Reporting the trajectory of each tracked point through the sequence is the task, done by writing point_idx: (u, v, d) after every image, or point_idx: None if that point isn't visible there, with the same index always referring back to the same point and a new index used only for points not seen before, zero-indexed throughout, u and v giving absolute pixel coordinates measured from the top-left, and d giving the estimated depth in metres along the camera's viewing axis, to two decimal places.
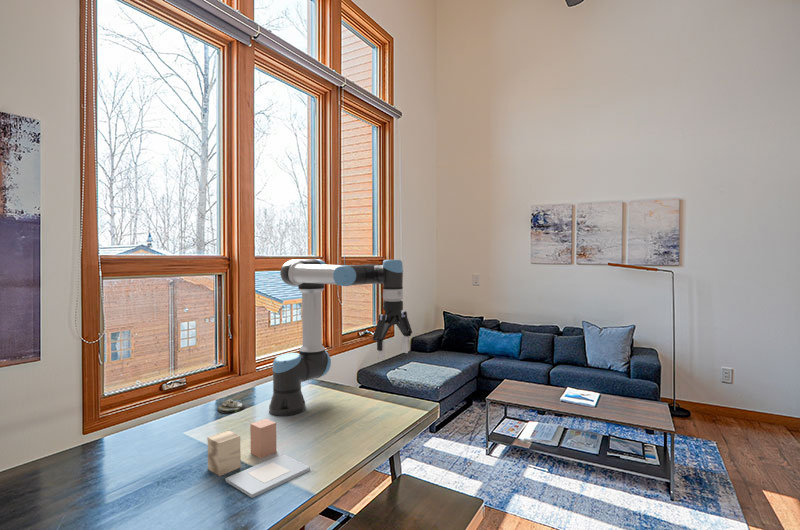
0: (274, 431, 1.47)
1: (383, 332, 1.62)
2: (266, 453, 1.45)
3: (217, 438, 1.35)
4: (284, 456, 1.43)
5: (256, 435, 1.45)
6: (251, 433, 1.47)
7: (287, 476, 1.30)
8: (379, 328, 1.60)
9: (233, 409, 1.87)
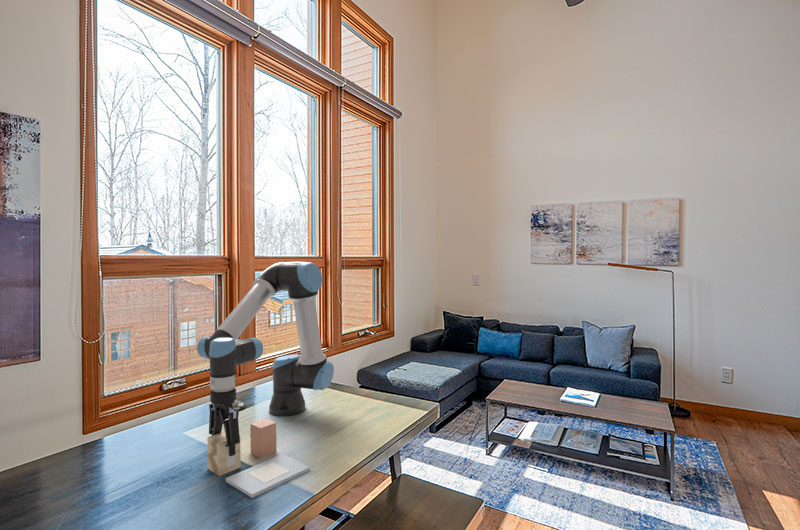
0: (274, 431, 1.47)
1: None
2: (266, 453, 1.45)
3: (217, 438, 1.35)
4: (284, 456, 1.43)
5: (256, 435, 1.45)
6: (251, 433, 1.47)
7: (287, 476, 1.30)
8: None
9: (234, 409, 1.87)
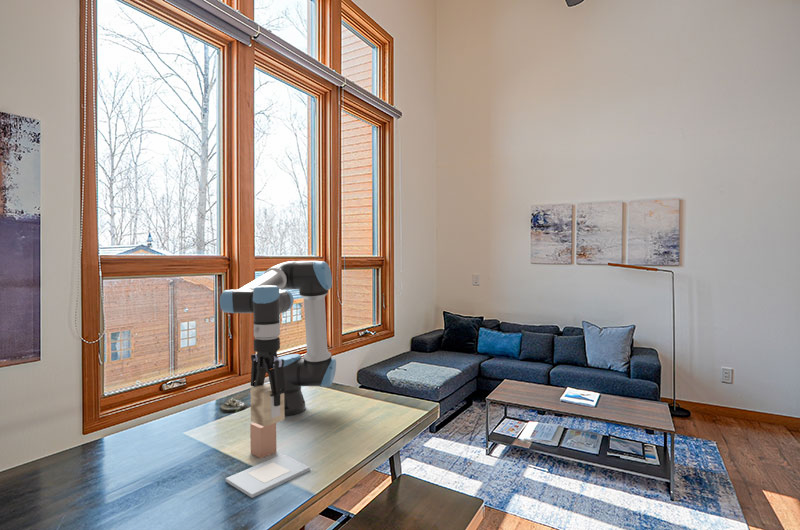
0: (274, 431, 1.47)
1: None
2: (266, 453, 1.45)
3: (261, 388, 1.30)
4: (284, 456, 1.43)
5: (256, 435, 1.45)
6: (251, 433, 1.47)
7: (287, 476, 1.30)
8: None
9: (234, 408, 1.88)
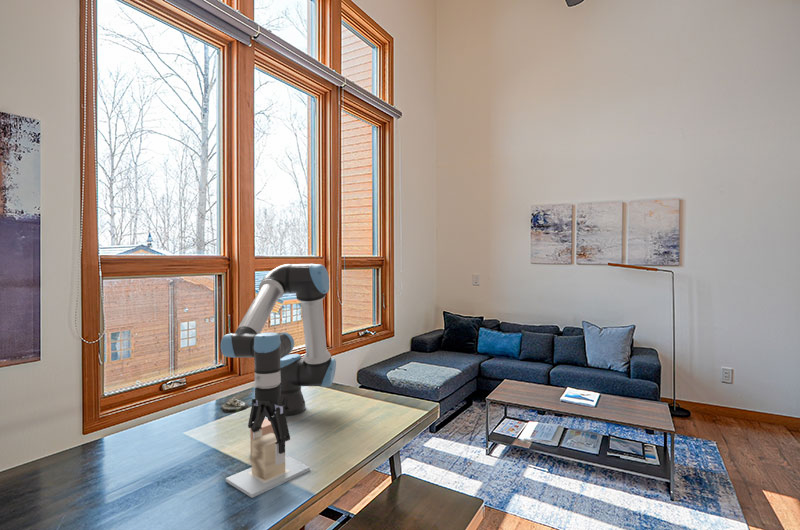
0: None
1: None
2: None
3: (262, 441, 1.30)
4: None
5: None
6: (251, 433, 1.47)
7: (287, 476, 1.30)
8: None
9: (235, 408, 1.88)
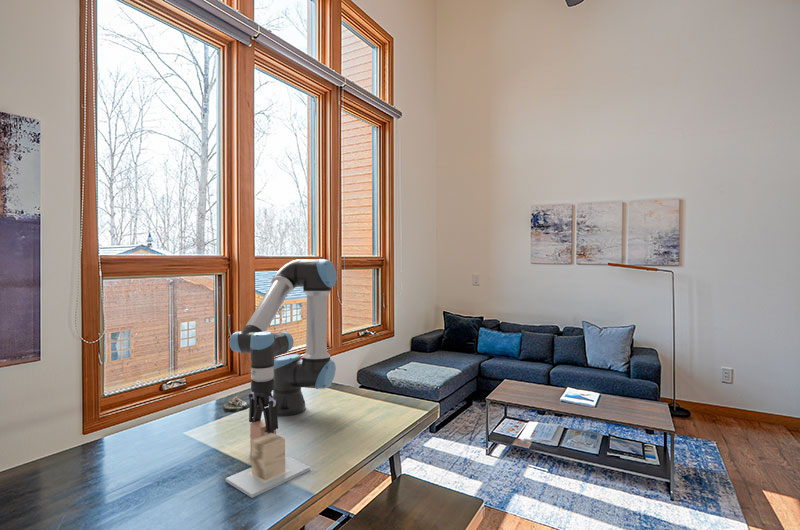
0: (274, 431, 1.47)
1: None
2: None
3: (262, 441, 1.30)
4: None
5: (256, 435, 1.45)
6: (251, 433, 1.47)
7: (287, 476, 1.30)
8: None
9: (236, 408, 1.89)
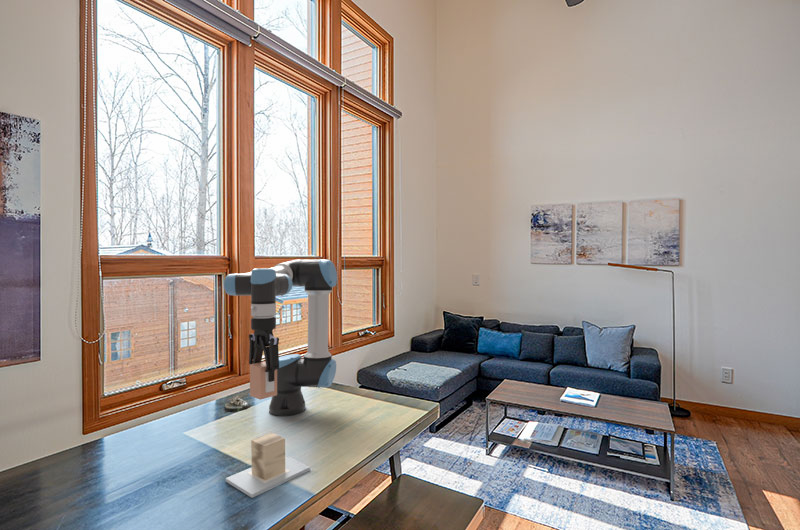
0: (274, 373, 1.39)
1: None
2: (266, 395, 1.37)
3: (262, 441, 1.30)
4: None
5: (256, 375, 1.37)
6: (250, 374, 1.39)
7: (287, 476, 1.30)
8: None
9: (236, 407, 1.89)
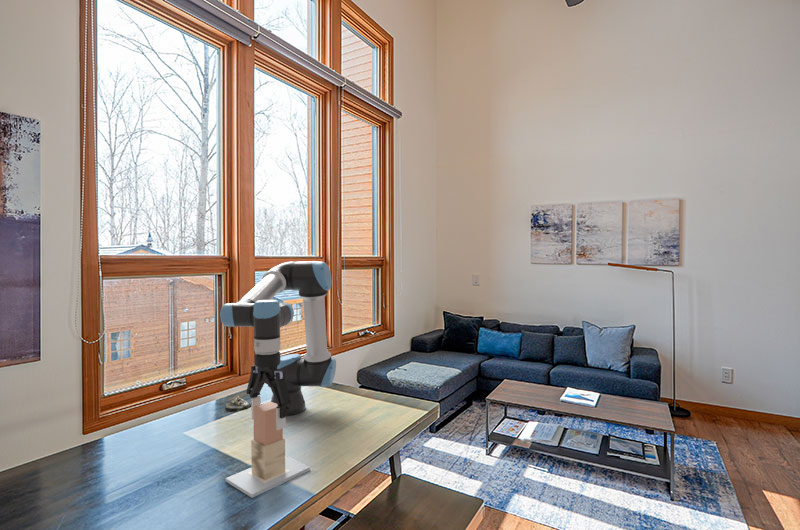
0: None
1: None
2: (271, 440, 1.29)
3: None
4: None
5: (260, 419, 1.29)
6: (254, 417, 1.31)
7: (287, 476, 1.30)
8: None
9: (237, 407, 1.89)
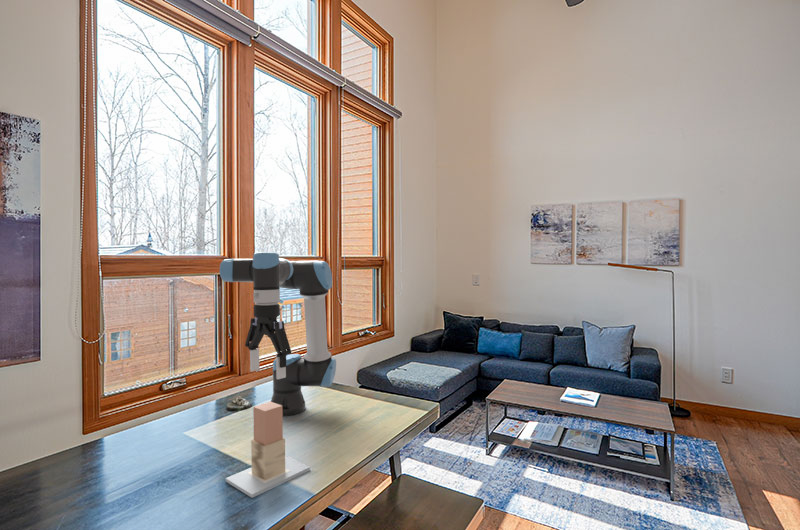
0: (280, 415, 1.31)
1: None
2: (271, 440, 1.29)
3: None
4: None
5: (260, 419, 1.29)
6: (254, 417, 1.31)
7: (287, 476, 1.30)
8: None
9: (237, 407, 1.89)
